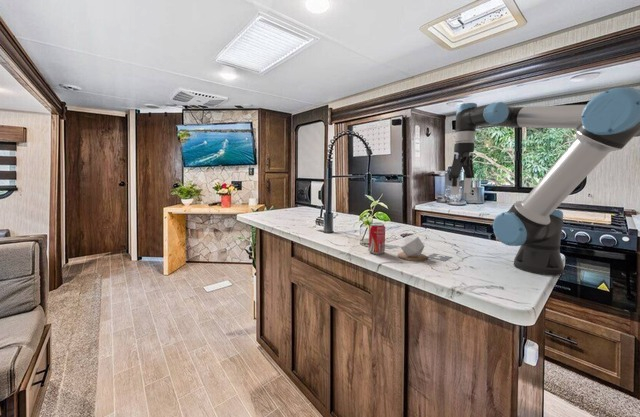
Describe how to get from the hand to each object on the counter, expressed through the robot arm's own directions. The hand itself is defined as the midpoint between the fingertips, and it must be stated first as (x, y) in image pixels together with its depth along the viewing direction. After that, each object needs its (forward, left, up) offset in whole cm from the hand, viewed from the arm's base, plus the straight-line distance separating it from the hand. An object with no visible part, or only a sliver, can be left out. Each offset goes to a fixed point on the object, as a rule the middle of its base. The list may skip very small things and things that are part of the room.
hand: (461, 193), depth 125 cm
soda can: (+26, +23, -27) cm, 44 cm away
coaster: (+12, +17, -27) cm, 34 cm away
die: (+12, +17, -26) cm, 34 cm away
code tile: (+4, +9, -27) cm, 29 cm away
